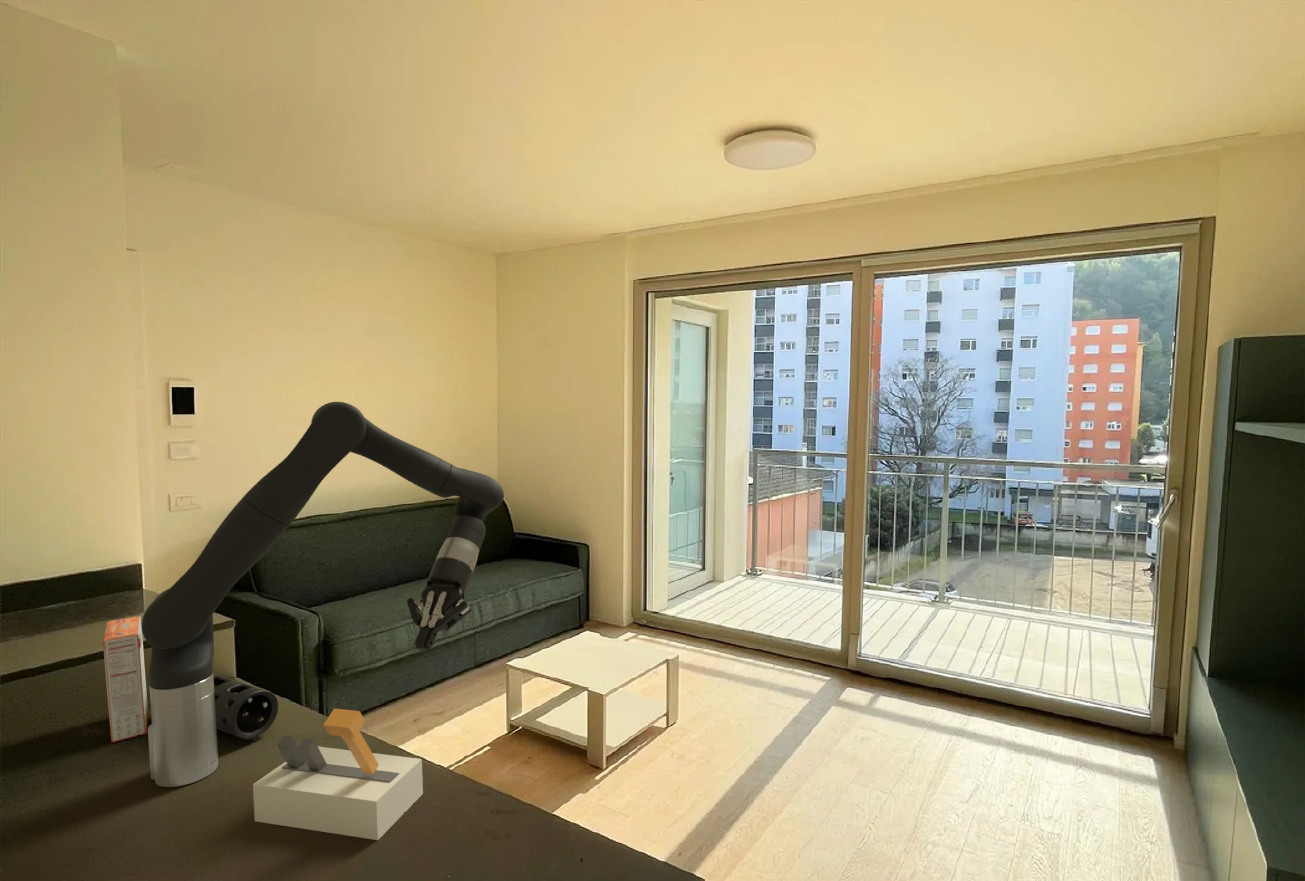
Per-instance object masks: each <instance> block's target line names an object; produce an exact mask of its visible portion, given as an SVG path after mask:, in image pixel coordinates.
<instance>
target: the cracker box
mask: <svg viewBox="0 0 1305 881" xmlns="http://www.w3.org/2000/svg"><path fill="white" fill-rule="evenodd" d="M102 643H103V644H102V645H103V656H104V657H103V658H104V659H103V660H104V669H105V683H106V694H107V706H108V716H109V726H110V727H109V728H110V739H111V740H110V741H111V743H115V742H121V741H123V740H124V741H125V740H127V739H131V738H132V739H133V738H134V737H139V736H138V735H140V736H143V735H146V734H148V698H147V697H148V696H147V680H146V679H147V678H146V668H145V667H146V666H145V654H144V643H143V633H142V618H141V615H139V616H138V615H137V616H131V617H127V618H119V619H113V620H109V621H107V623H106V627H105V632H104V636H103V641H102Z"/></svg>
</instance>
